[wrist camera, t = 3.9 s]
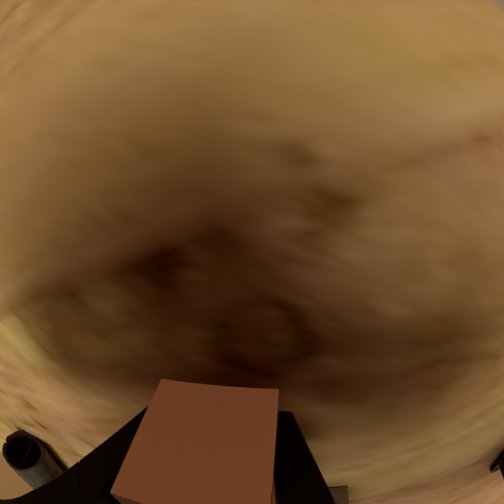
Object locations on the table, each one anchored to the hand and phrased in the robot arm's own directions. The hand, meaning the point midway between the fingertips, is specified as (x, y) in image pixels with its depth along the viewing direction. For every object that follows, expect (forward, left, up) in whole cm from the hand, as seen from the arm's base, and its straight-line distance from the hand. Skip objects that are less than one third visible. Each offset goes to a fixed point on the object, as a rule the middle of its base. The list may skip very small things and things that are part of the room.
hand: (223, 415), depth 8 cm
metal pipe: (+17, +21, -2) cm, 27 cm away
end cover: (0, +6, -1) cm, 6 cm away
